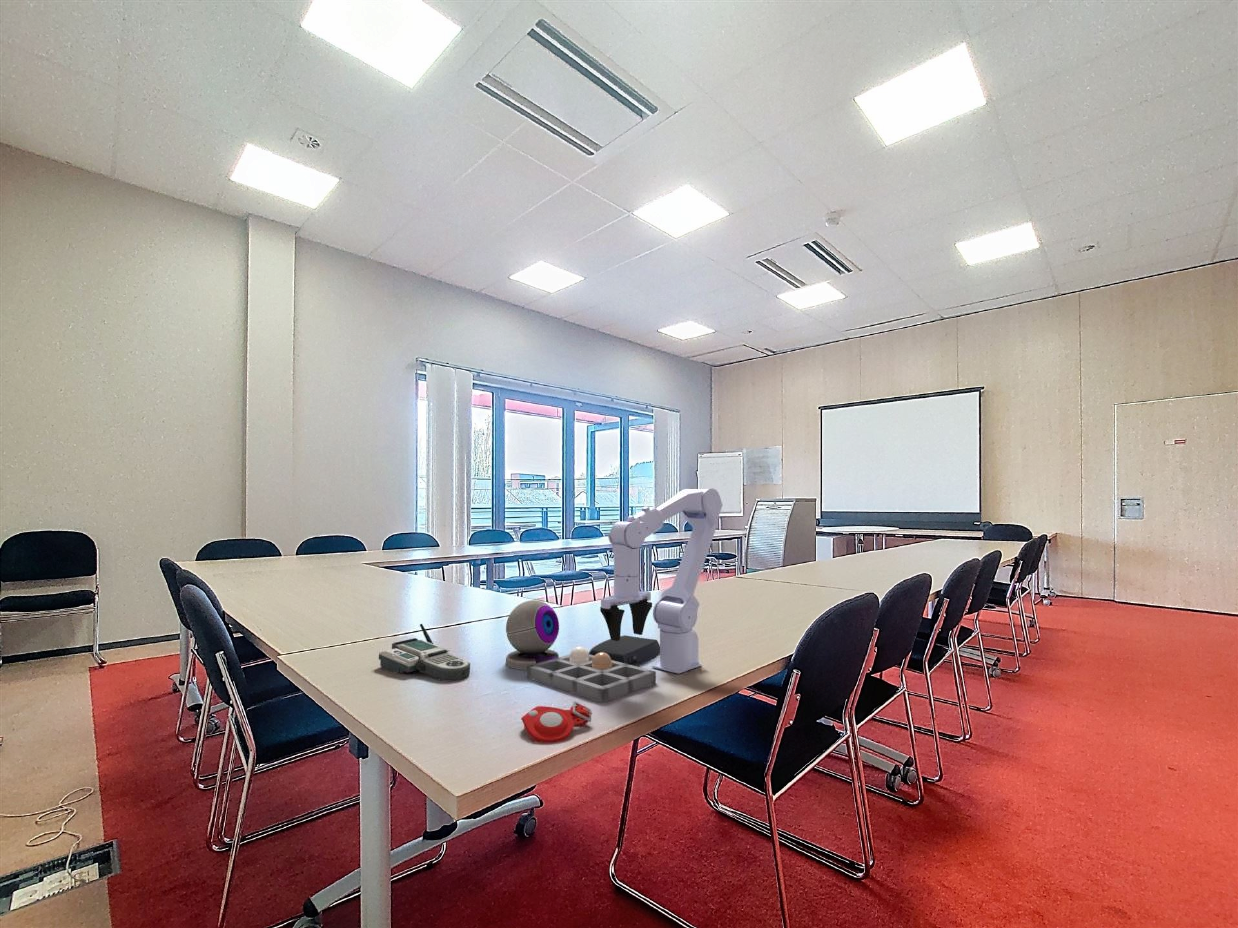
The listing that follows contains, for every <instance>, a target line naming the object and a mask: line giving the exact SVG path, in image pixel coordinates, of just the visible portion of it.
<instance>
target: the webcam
mask: <svg viewBox="0 0 1238 928" xmlns="http://www.w3.org/2000/svg"><path fill="white" fill-rule="evenodd" d="M505 633H506V637H507V640H508V642H509V644H510V646H512V647H513V649H514V651H511V652H510V653H507V655H506V657H505V665H506V666H508V667H509V668H511V669H512V668H513V669H515V670H516V669H517V670H526V671H527V666H529V665H533V664H537V663H540V662H544V661H548V660H552V659H555V658H559V657H560V655H559V653H558V652H557V651H555V650H553V649H550V648H552V646H553V645H554V643H555V642H556V640H557V638H558V636H559V633H560V621H559V617H558V615H557V612H556V611H555V610H554V609H553V608H552V607H551V606H550V605H549V604H548V603H546V602H543V601H541V600H535V599H533V600H526V601H524V602H521V603H519V604H518V605H516V607H514V608H513V610H512V611H511V612H510V614H509V615H508V617H507V620H506V624H505Z"/></svg>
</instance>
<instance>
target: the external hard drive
mask: <svg viewBox="0 0 1238 928" xmlns="http://www.w3.org/2000/svg"><path fill="white" fill-rule="evenodd" d="M600 652H604V653H607V654H608V655H609V656H610V658H611V660H613V661H617V662H621V663H625V664H629V665H632V666H636V667H639V666H641V665H642V664H645V663H647V662H648V661H651V660H653V659H654V658H655V657H657V656H660V642H659V641H658V640H657V639H653V638H645V637H636V636H632V635H620V640H619V641H614V640H611V638H609V639H606V640H604V641H601V642H600V643H597V644H596V645H594V646H593V647H592V648H590V650H589V651H588V654H590V655H594V656H595V655H596V654H597V653H600Z"/></svg>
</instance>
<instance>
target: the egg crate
mask: <svg viewBox="0 0 1238 928" xmlns="http://www.w3.org/2000/svg"><path fill="white" fill-rule="evenodd" d="M588 655H589V661H588V662H584V663H581V664H576V663H573V662H570V654H567V655H563V656H559V658H555V659H552V660H548V661H544V662H540V663H537V664H533V665H529V666H527V670H526V678H527V679H529V680H534V681H537V682H539V683H542V684H544V685H545V684H546V685H547V686H551V687H555V688H558V689H560V690H564V691H566V692H569V693H572V694H575V695H578V696H582V697H584V698H587V699H591V700H593V701H597V702H599V703H603V704H604V703H606V702H609V701H611V700H614V699H617V698H619V697H621V696H625V695H627V694H630V693H632V692H636V691H639V690H641V689H643V688H646V687H649V686H652V685H655V684H656V682H657V681H656V680H657V678H656V677H657V676H656V674H657V672H656V671H655V670H651V669H647V668H643V667H640V666H632V665H629V664H625V663H621V662H617V661H613V660H611V661H612V668H609V669H606V670H603V671H601V670H598V669H594V668H592V660H593V657H594V655H590V654H588Z"/></svg>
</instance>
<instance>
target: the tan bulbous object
mask: <svg viewBox="0 0 1238 928" xmlns="http://www.w3.org/2000/svg"><path fill="white" fill-rule="evenodd" d="M592 668H594V669H598V670H601V671H603V670H606V669H609V668H612V661H611V658H610V656H609V655H608V654H607V653H604V652H600V653H597V654H596V655H595V656H594V657H593V660H592Z"/></svg>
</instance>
